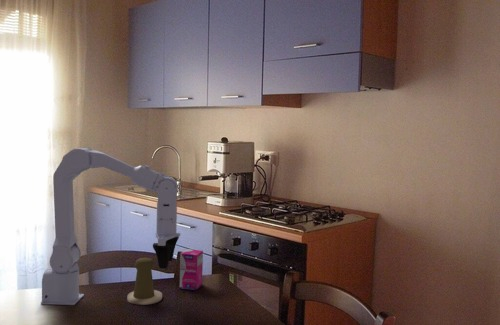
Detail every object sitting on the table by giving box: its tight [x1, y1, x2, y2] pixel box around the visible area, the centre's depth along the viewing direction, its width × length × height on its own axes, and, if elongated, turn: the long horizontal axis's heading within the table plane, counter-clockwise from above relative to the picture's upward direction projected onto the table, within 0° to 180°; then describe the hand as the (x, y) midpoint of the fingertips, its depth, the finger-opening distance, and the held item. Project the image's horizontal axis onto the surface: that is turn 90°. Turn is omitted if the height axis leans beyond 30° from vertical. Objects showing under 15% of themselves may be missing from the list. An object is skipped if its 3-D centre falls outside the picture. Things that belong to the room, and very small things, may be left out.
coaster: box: [126, 289, 163, 306], centre depth 138 cm, size 10×10×1 cm
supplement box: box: [179, 248, 204, 291], centre depth 149 cm, size 6×6×12 cm
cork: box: [133, 257, 155, 299], centre depth 137 cm, size 6×6×11 cm
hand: (165, 264), depth 137 cm, fingers open, 7 cm apart
